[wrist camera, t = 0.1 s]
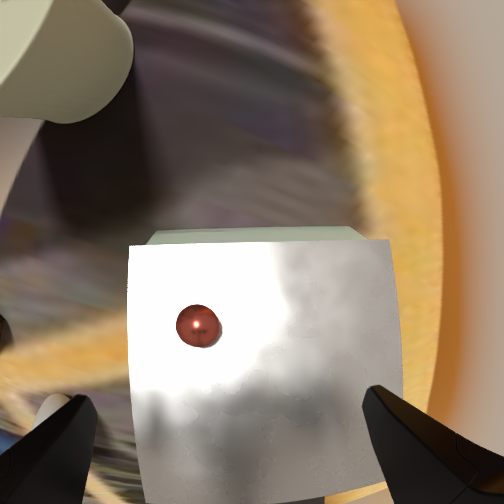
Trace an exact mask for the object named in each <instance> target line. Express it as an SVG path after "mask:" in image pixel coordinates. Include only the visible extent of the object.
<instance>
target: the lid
mask: <svg viewBox="0 0 504 504" xmlns="http://www.w3.org/2000/svg"><path fill="white" fill-rule="evenodd" d="M128 354H129V375H130V390H131V403H132V413H133V423H134V432H135V440H136V447H137V455H138V461H139V468H140V474H141V479H142V485H143V490H144V496H145V501H146V503H152V504H324V499H325V496H328V495H333V494H337V493H342V492H346V491H350V490H354V489H358V488H362V487H366V486H369V485H373V484H376V483H380V482H383V481H386V480H385V478H384V475H383V473H382V470H381V467H380V465H379V462H378V460H377V457H376V455H375V452H374V449H373V447H372V444H371V440H370V436H369V432H368V428H367V425H366V421H365V417H364V414H363V410H362V402H363V399H364V396H365V393H366V390H367V388H368V387H369V386H373V385H378V384H379V385H382V386H383V387H385V388H386V389H388V390H389V391H391V392H392V393H394V394H395V395H397V396H398V397H400V398H402V399H403V368H402V347H401V332H400V320H399V310H398V300H397V291H396V283H395V276H394V268H393V262H392V255H391V249H390V243H389V239H388V240H334V241H289V242H250V243H215V244H182V245H152V246H130V253H129V274H128Z"/></svg>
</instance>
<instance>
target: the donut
mask: <svg viewBox="0 0 504 504" xmlns="http://www.w3.org/2000/svg"><path fill="white" fill-rule="evenodd" d="M69 400H70V399H69V398H68V397H66V396H65V395H62V394H53V395H51V396H49V397H48V398H46V400H45V401H44V402H43V404H42V406H41V407H40V409H39V411H38V413H37V415H36V418H35V420H34V423H33V425H32V428H31V430H33V429H34V428H35V427H36V426H38V425H39V424H40V423H41V422H43V421H44V420H45V419H47V418H48V417H49V416H50V415H52V414H53V413H54V412H55V411H57V410H58V409H59V408H60V407H62V406H63V405H64V404H65V403H67V402H68V401H69Z"/></svg>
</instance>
